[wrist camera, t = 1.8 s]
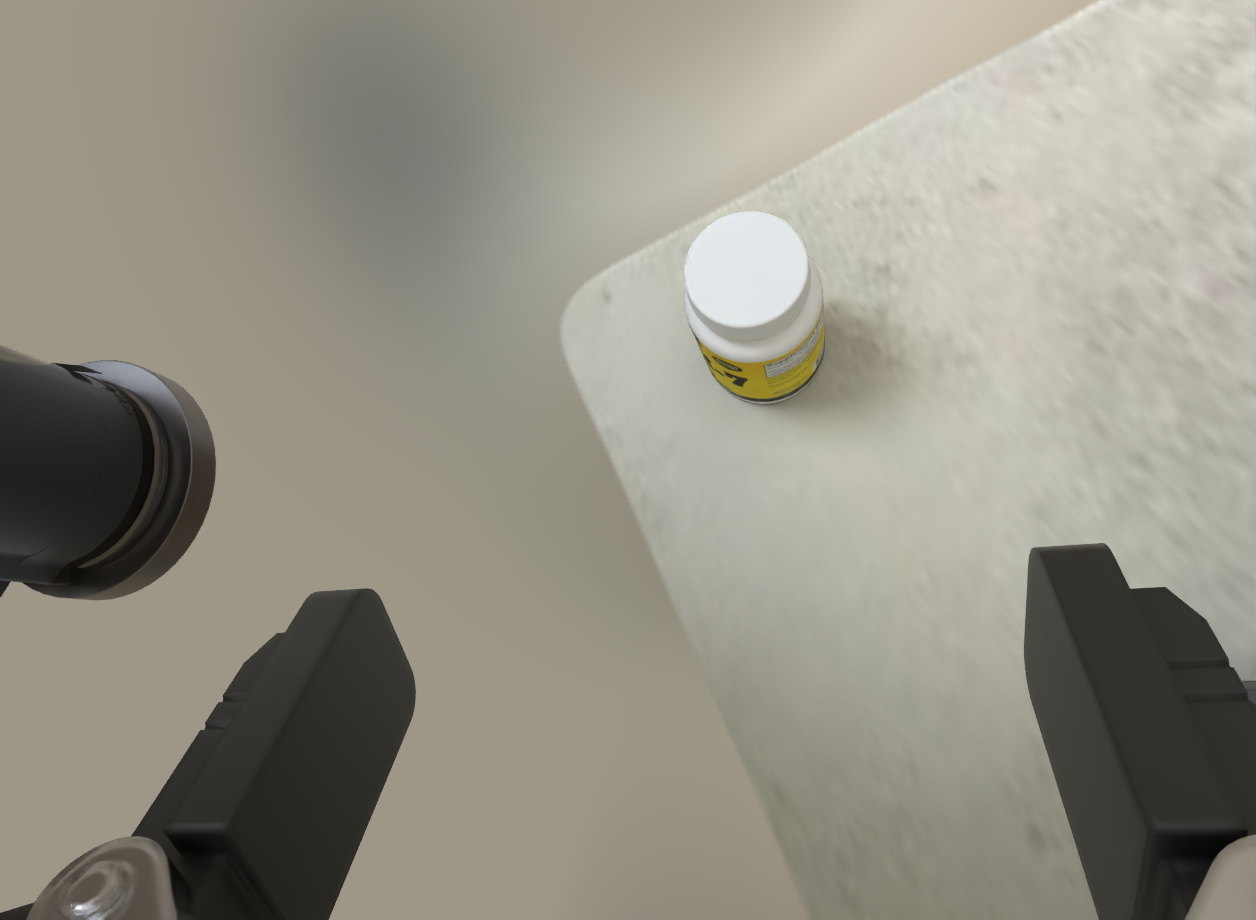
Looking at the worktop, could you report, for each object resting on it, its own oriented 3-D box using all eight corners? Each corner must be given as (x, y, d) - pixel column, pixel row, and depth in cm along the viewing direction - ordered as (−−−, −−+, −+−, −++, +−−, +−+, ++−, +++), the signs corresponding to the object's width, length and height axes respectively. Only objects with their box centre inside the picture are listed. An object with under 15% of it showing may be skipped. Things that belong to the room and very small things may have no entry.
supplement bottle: (684, 339, 38) (642, 255, 30) (778, 271, 37) (762, 168, 29) (751, 430, 36) (726, 367, 28) (849, 360, 36) (852, 277, 28)
